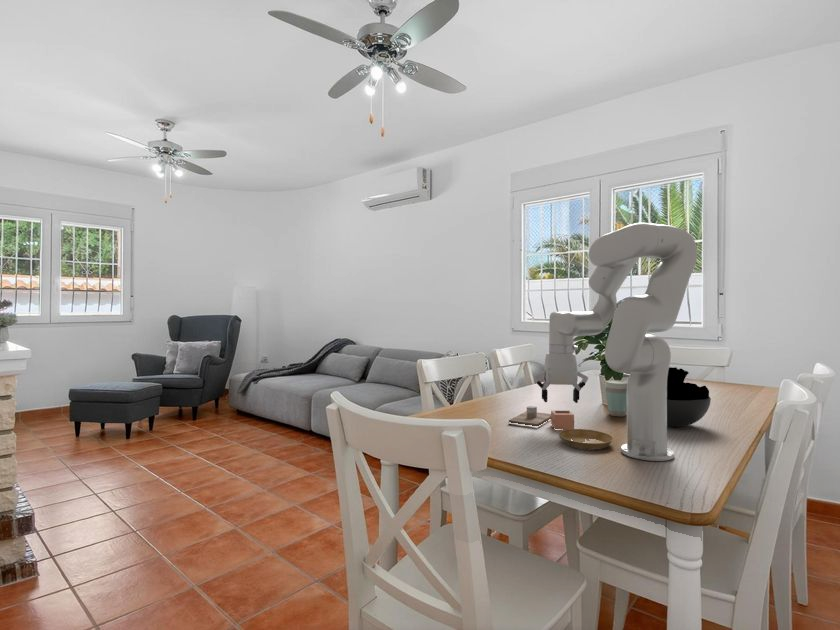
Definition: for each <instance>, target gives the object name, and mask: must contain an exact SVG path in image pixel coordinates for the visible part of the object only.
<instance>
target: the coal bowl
mask: <svg viewBox="0 0 840 630" xmlns="http://www.w3.org/2000/svg"><path fill="white" fill-rule="evenodd" d="M689 374H690V373H689V371H687V370H684V369H683V368H678V367H677V366H676V367H670V366H669V369H668V376H667V426H671V427H686V426H691V425H693V424H695V423H697V422H698V421H700V420H702V419H703V417H704V416H705V415H706V414H707V412H708V410H709V408H710V405H711V400H712V399H711V397H710V389H708V387H707V386H706V385H702V386H700V385H697V383H692V382H685V379H686V377H687V376H688V375H689Z"/></svg>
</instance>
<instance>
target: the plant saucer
mask: <svg viewBox="0 0 840 630" xmlns="http://www.w3.org/2000/svg"><path fill="white" fill-rule="evenodd" d="M558 436H559V438H560V439H561V441H563V443H565V444H566V445H567V446H569V447H571V446H572V447H571V448H574V447H575V449H578V448H580V449H579V450H585V449H598V450H603V449H605V448H607V447H608V446H610V444H611V443H612V442H613V441H614V440H615V438H614V437H613V435H611V434H608V433H605V432H603V431H599V430H594V429H593V430H592V429H585V428H584V429H583V428H574V429H570V430H560V432H558ZM571 439H572V440H573V441H571ZM585 439H586V440H587V441H590V440H589V439H596V440H599V441H602V442H604V443H583V442H585ZM602 448H603V449H602Z"/></svg>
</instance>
